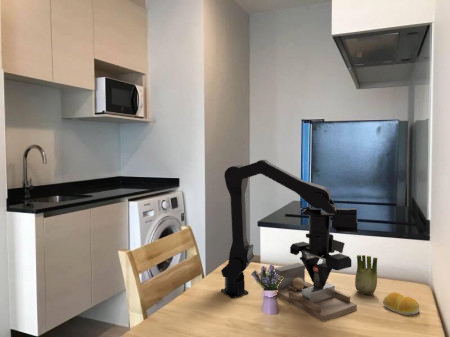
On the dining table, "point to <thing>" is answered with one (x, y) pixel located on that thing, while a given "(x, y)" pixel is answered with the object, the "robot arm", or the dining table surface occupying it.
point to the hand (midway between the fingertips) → (318, 284)
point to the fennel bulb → (366, 275)
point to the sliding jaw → (318, 289)
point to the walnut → (298, 283)
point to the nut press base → (318, 309)
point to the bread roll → (401, 304)
